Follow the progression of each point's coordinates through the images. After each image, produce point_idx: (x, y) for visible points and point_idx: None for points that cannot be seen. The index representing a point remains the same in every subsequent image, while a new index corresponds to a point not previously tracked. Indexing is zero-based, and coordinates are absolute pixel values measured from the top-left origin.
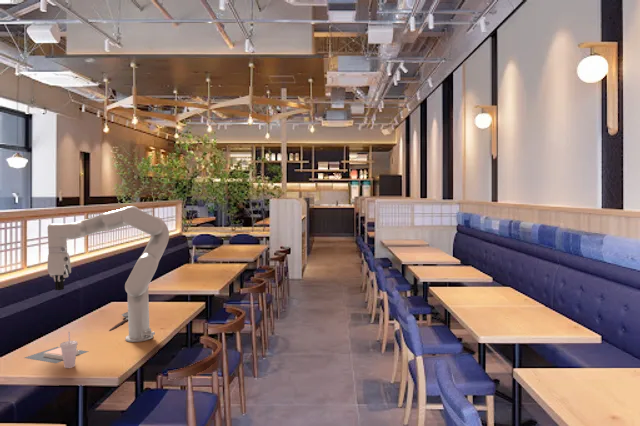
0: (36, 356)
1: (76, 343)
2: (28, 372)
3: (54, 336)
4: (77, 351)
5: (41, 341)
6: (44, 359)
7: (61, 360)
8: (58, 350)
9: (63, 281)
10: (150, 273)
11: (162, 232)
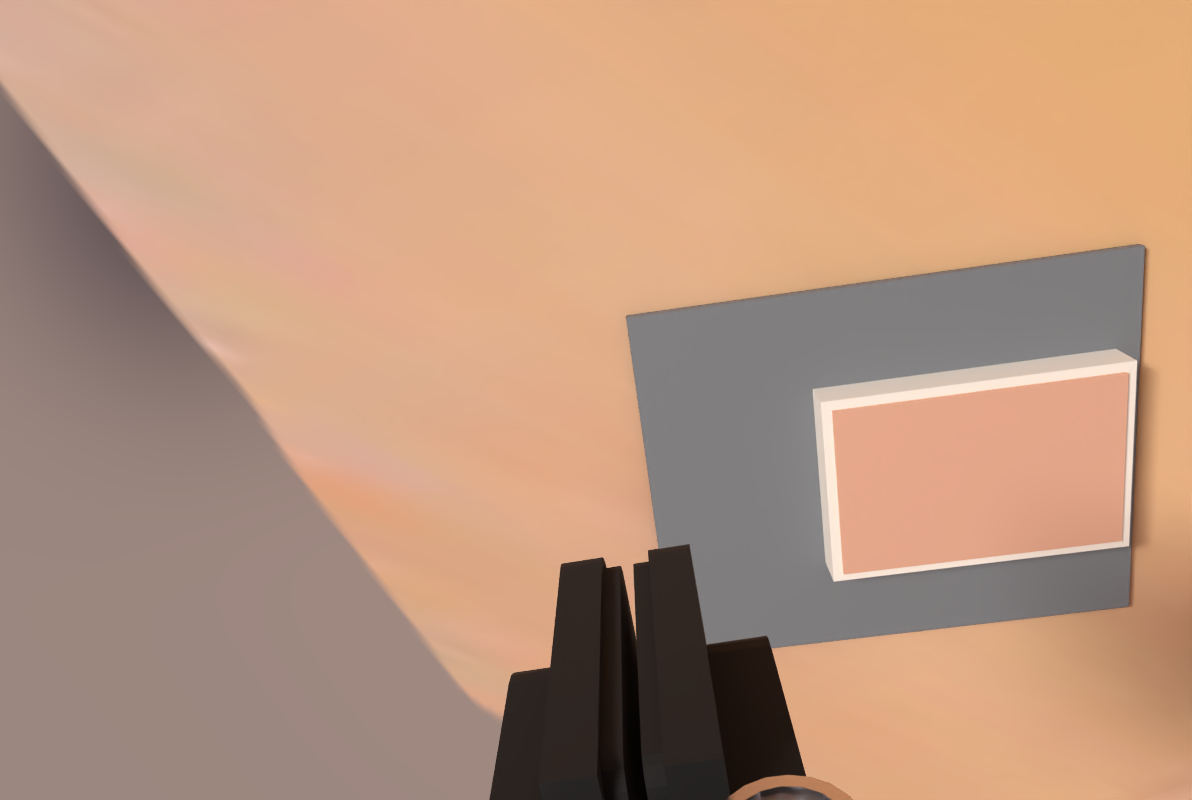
0: (751, 591)
1: None
2: (1071, 795)
3: (92, 61)
4: (1133, 382)
5: (197, 271)
6: (915, 600)
7: None
8: (922, 478)
9: (719, 733)
10: None
11: None
